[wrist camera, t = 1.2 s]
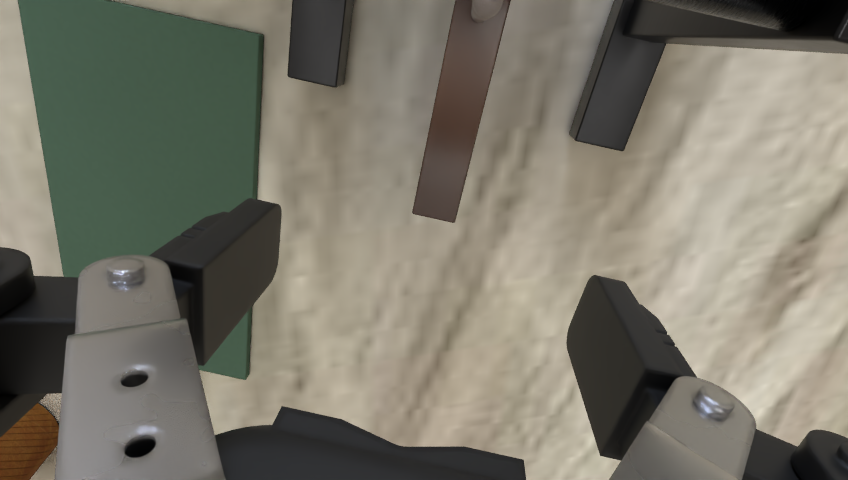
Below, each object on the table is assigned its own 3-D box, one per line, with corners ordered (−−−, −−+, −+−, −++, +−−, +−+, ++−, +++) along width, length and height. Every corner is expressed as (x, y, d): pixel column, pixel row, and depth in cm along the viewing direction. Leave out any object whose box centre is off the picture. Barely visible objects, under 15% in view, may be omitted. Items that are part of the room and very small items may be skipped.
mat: (24, -19, 22) (13, -20, 22) (264, 34, 22) (259, 34, 22) (80, 337, 32) (74, 342, 31) (249, 374, 32) (245, 380, 31)
